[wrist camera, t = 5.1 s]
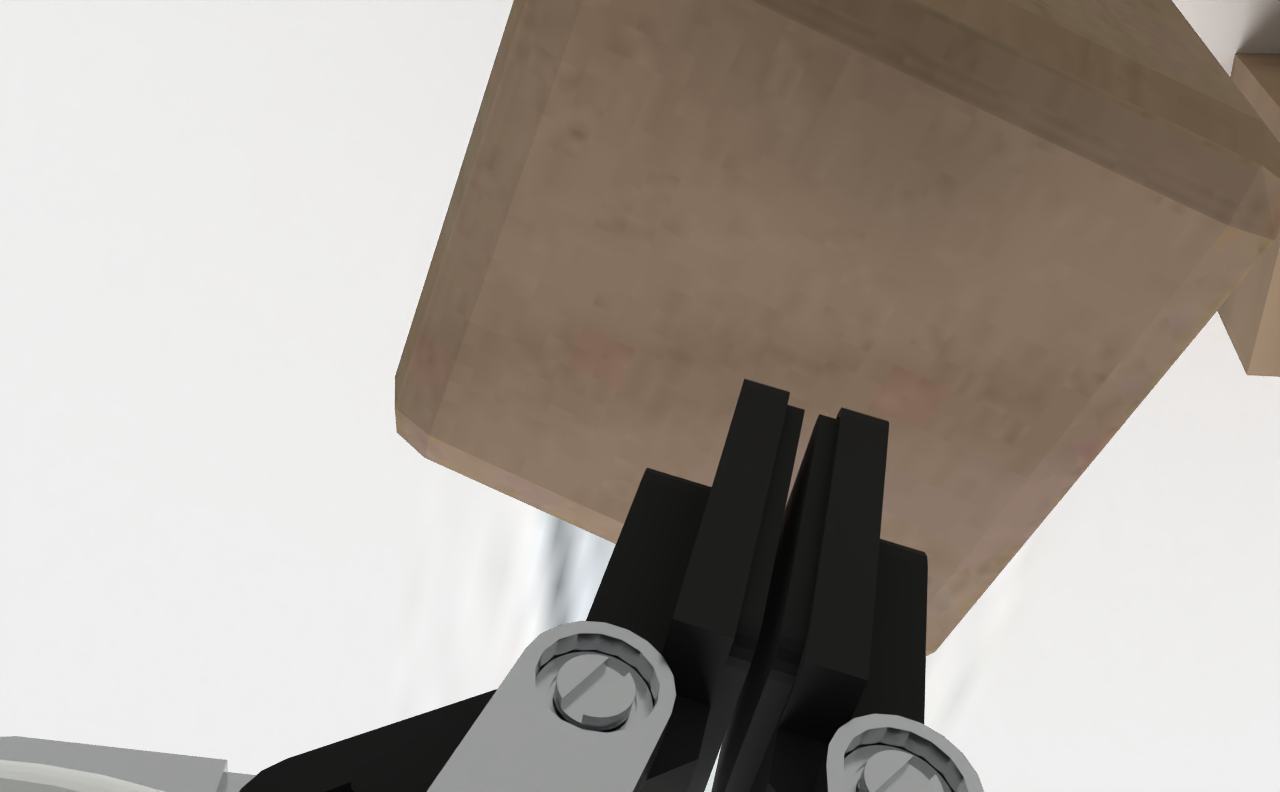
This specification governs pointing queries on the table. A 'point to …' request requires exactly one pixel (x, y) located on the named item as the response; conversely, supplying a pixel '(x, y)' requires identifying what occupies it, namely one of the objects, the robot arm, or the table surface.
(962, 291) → the block
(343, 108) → the table surface
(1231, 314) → the walnut block
